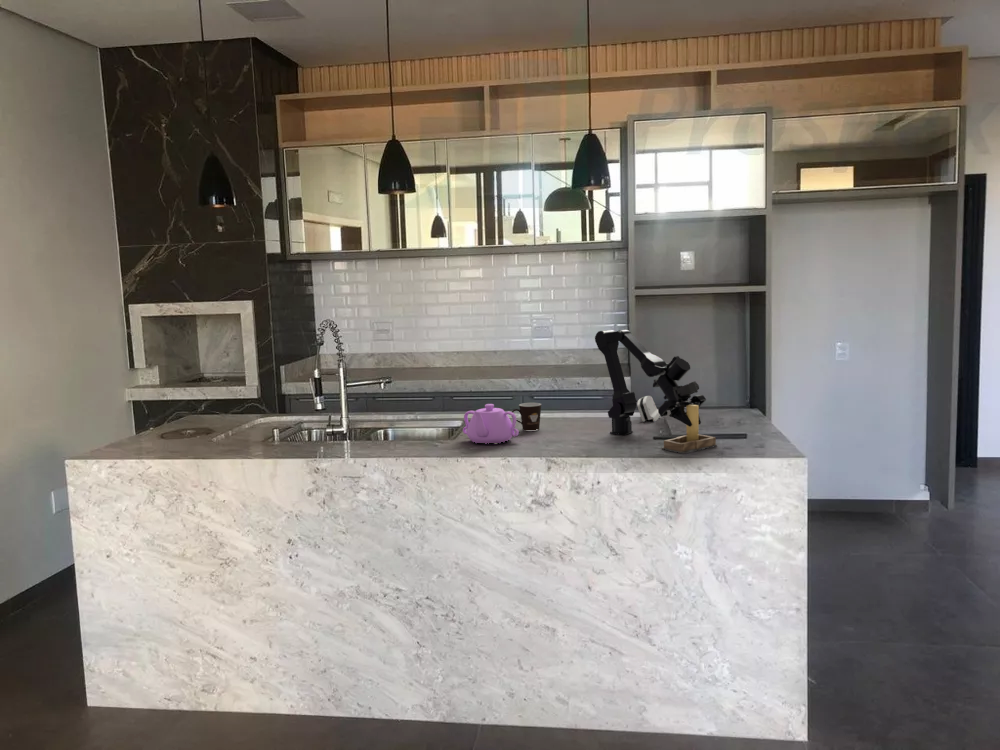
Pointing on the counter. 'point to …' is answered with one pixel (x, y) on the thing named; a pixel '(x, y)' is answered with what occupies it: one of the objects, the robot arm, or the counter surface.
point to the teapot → (490, 425)
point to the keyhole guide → (689, 444)
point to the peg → (692, 431)
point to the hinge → (647, 409)
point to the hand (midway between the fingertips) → (695, 424)
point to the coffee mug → (530, 415)
